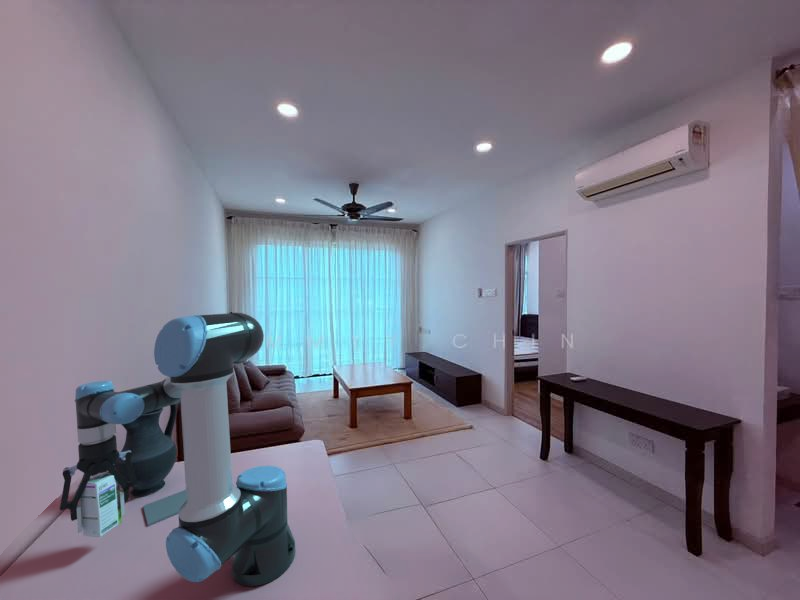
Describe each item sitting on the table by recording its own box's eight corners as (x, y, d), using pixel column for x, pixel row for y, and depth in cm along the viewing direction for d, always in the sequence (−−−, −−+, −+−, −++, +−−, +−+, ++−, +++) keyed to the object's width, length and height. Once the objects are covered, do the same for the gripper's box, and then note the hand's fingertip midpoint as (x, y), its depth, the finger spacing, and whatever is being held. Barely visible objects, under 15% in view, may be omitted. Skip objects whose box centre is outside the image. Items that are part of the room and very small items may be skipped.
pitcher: (102, 501, 107) (98, 414, 106) (159, 468, 127) (156, 394, 126) (145, 506, 104) (141, 416, 103) (196, 471, 124) (193, 396, 123)
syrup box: (100, 537, 83) (97, 483, 83) (81, 536, 84) (78, 482, 84) (122, 522, 89) (119, 471, 89) (104, 521, 90) (102, 470, 90)
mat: (194, 506, 103) (194, 504, 103) (147, 526, 95) (147, 524, 95) (186, 490, 112) (186, 489, 112) (143, 507, 103) (143, 505, 103)
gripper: (144, 423, 96) (148, 497, 97) (42, 448, 82) (47, 535, 82) (147, 430, 91) (151, 508, 91) (38, 458, 76) (44, 551, 77)
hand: (102, 520), depth 87 cm, fingers closed on syrup box, 8 cm apart
